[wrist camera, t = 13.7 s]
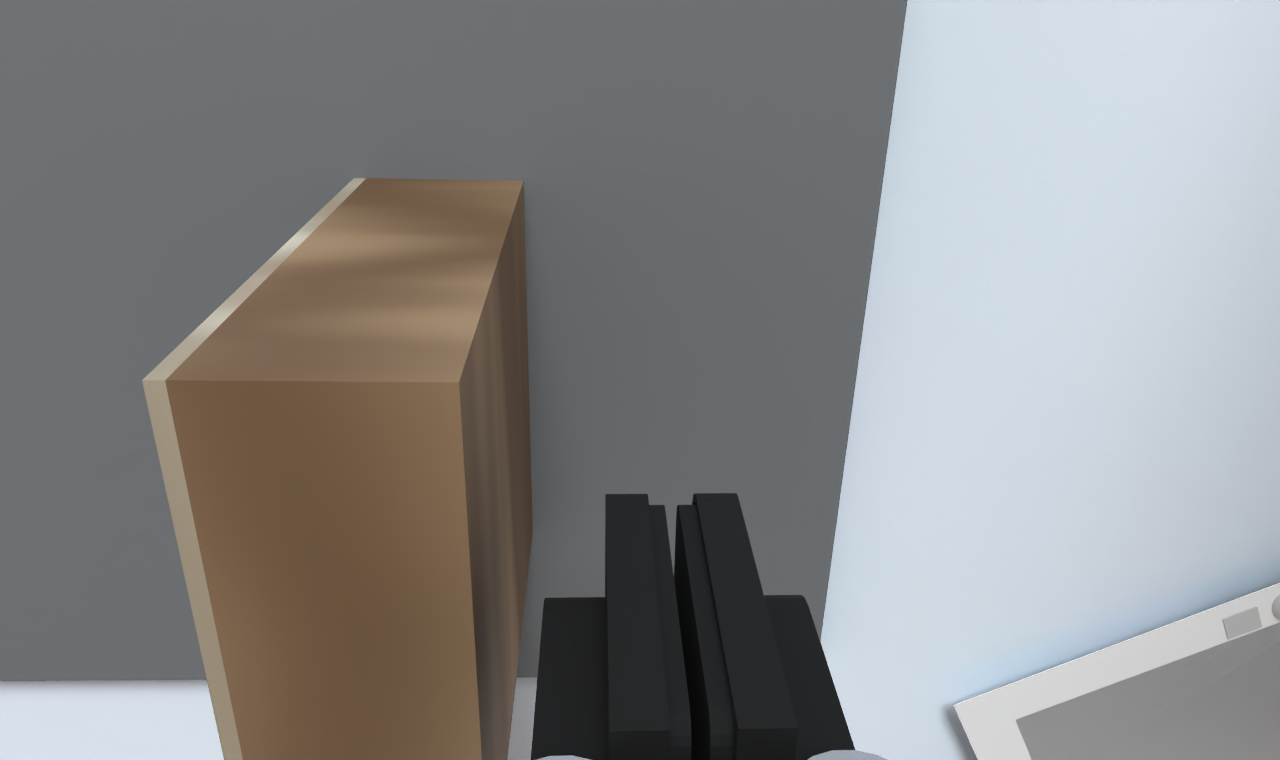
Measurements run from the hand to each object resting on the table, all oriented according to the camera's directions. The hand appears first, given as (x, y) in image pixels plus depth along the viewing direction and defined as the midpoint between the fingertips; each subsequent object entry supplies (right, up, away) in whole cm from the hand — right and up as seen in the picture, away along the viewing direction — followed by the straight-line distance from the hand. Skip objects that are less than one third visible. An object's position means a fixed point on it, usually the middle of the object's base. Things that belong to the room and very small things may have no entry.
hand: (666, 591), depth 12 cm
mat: (-5, +3, +6) cm, 8 cm away
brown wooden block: (-4, +3, +5) cm, 7 cm away
